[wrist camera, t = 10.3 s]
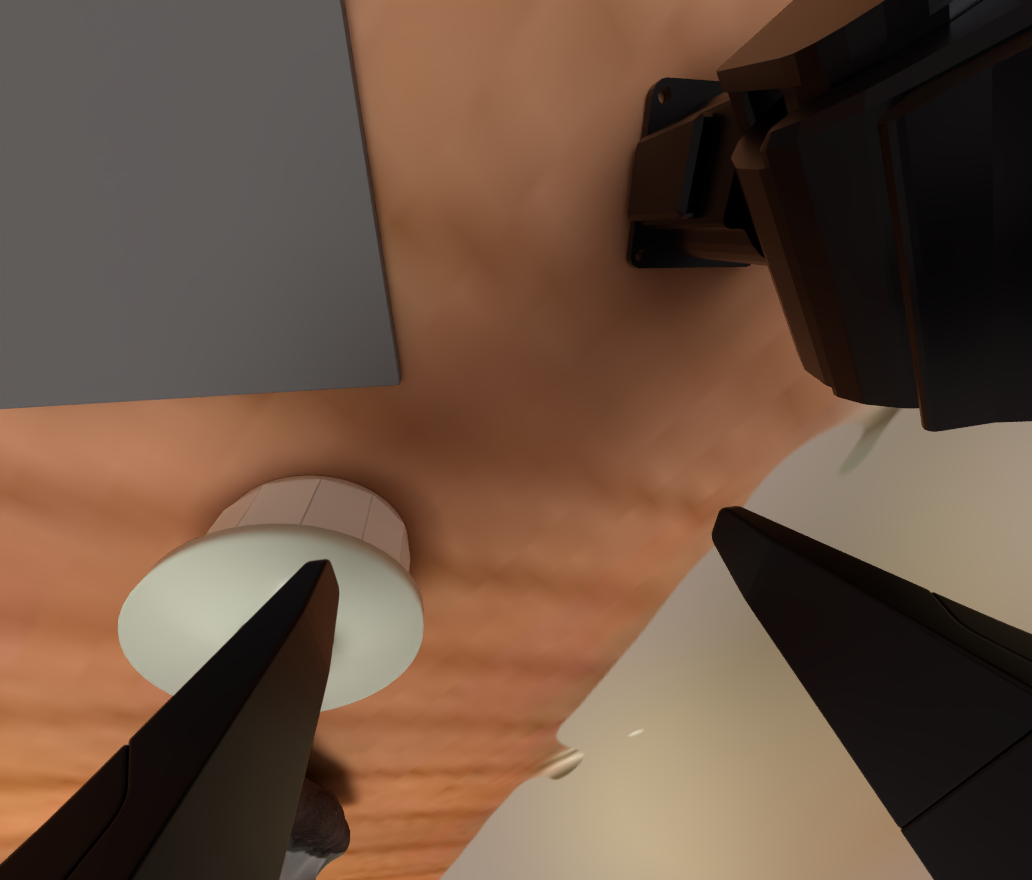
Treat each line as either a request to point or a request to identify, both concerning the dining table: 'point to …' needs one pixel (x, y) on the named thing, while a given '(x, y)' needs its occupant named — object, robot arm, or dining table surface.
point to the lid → (251, 583)
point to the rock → (315, 833)
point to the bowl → (322, 511)
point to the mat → (185, 203)
